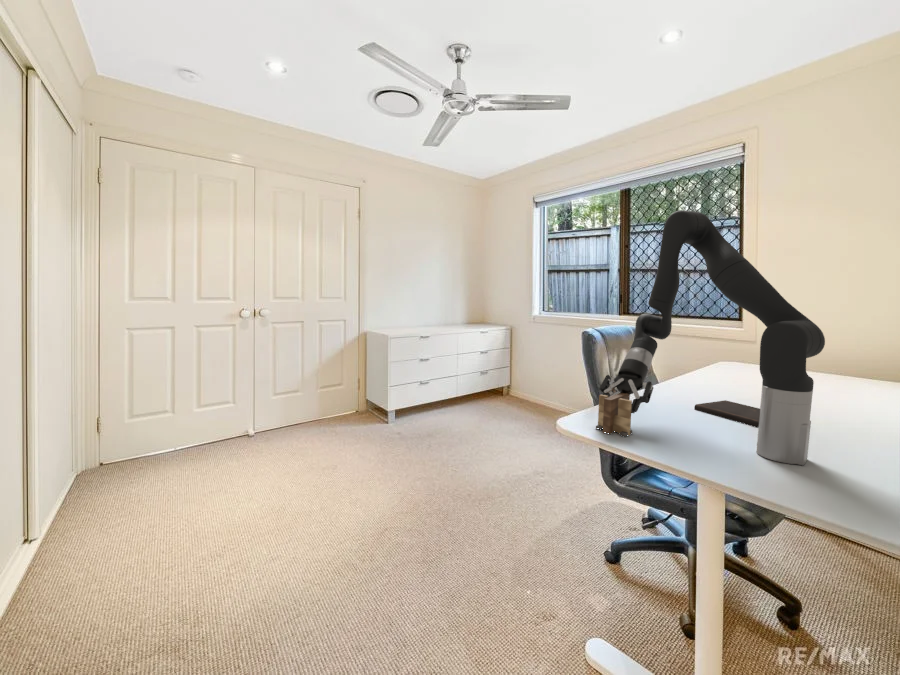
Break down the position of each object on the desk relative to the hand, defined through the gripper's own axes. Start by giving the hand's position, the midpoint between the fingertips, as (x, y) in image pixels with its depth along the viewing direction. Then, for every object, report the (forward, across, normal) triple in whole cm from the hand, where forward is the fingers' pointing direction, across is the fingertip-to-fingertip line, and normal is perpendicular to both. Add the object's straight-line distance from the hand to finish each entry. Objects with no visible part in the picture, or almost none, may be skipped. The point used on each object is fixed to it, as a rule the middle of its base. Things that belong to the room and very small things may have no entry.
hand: (617, 408), depth 115 cm
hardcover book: (-26, +22, +36) cm, 49 cm away
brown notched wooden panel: (+4, 0, +4) cm, 6 cm away
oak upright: (+6, 0, +2) cm, 7 cm away
